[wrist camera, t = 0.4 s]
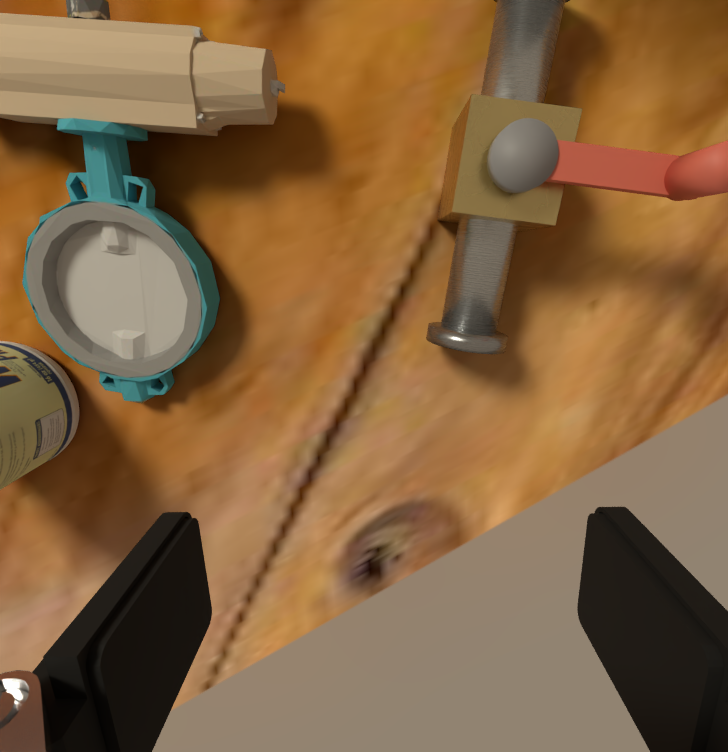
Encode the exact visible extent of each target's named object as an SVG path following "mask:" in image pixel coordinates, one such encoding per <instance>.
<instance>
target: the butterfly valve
mask: <svg viewBox="0 0 728 752" xmlns="http://www.w3.org/2000/svg"><path fill="white" fill-rule="evenodd" d="M66 5H67V15H68V18H66V17H51V16H36V15H21V14H6V13H0V118H5V119H9V120H14V121H19V122H26V123H40V124H54V125H57V130H59V131H62V132H64V133H71V134H76V135H81V136H82V137H83V146H84V154H85V163H86V172H84V173H69V176H68V178H67V181H66V186H67V189H68V192H69V196H70V199H71V202H70V203H68V204H66V205H64V206H62V207H59V208H57V209H55V210H53V211H51V212H49V213H47V214H45V215H43V216H41V217H40V224H39V225H38V226H37V228H36V229H35V230H34V231H33V232H32V234H31V235H30V236H29V237H28V241H27V249H26V256H25V265H24V274H23V283H22V284H23V286H24V289H25V291H26V294H27V296H28V298H29V301H30V303H31V306H32V308H33V310H34V313H35V315H36V317H37V320H38V322H39V324H40V325H41V326H42V327H43V328H44V330H45V331H46V332H47V333H48V334H49V336H50V337H51V338H52V339H53V340H54V342H55V343H56V344H57V345H58V346H59V348H60V349H61V350H62V351H63V352H64V353H65V354H67V355H68V356H69V357H71V358H72V359H73V360H75V361H76V362H77V363H79V364H81V365H83V366H86V367H88V368H91V369H93V370H96V371H98V372H100V381H99V382H100V383H101V385H102V386H103V387H104V389H105V390H108V391H114V392H120V393H122V395H123V398H124V400H126V401H132V402H137V403H143V402H145V401H146V400H148V399H150V398H152V397H154V395H164V394H165V393H166V392H168V391H169V390H170V389H171V387H172V386H173V384H174V382H175V381H174V378H173V374H172V371H171V369H173V368H174V367H176V366H177V365H179V364H180V363H182V362H184V361H185V360H186V359H187V358H189V357H190V356H191V355H193V354H194V353H195V352H196V351H198V350H199V349H200V347H201V346H202V344H203V342H204V341H205V339H206V338H207V336H208V335H209V333H210V332H211V330H212V329H213V327H214V326H215V321H216V316H217V311H218V306H219V301H220V296H219V292H218V288H217V284H216V280H215V276H214V272H213V268H212V263H211V261H210V259H209V258H208V257H207V255H206V254H205V252H204V251H203V250H202V248H201V247H200V245H199V244H198V243H197V241H196V240H195V239H194V237H193V236H192V234H191V233H190V232H189V231H188V230H187V229H186V228H185V227H183V226H182V225H181V224H180V223H179V222H177V221H176V220H175V219H174V218H173V217H171V216H170V215H169V214H167V213H165V212H163V211H162V210H160V209H158V208H156V207H155V188H154V187H153V185H152V183H151V182H150V180H149V179H146V178H141V177H135V176H132V173H131V166H130V160H129V154H128V147H127V141H126V140H129V141H148V135H147V131H151V132H165V133H180V134H194V135H208V136H218V130H222V127H223V126H226V125H273V124H274V121H275V119H276V117H277V98H278V94H279V90H280V91H281V92H283V93H285V84H283V83H281V82H280V81H278V80H277V71H276V65H275V61H274V58H273V54H272V50H268V49H261V48H254V47H246V46H239V45H231V44H224V43H216V42H213V41H209V40H208V39H207V38H206V37H205V36H204V35H203V33H202V30H201V28H199V27H195V26H185V25H170V24H155V23H141V22H126V21H111V20H110V13H109V5H108V2H107V1H106V0H66ZM80 182H83V183H84V184H85V185H86V188H87V194H86V193H85V191H84V189H83V187H82V185H81V183H80ZM136 184H137V185H140V186H142V187H143V190H142V193H141V197H140V200H139V201H138V200H137V189H136ZM87 195H88V196H87ZM159 379H160V380H161V382H162V383H163V384H164V385H163V384H161V383H159Z"/></svg>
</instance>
